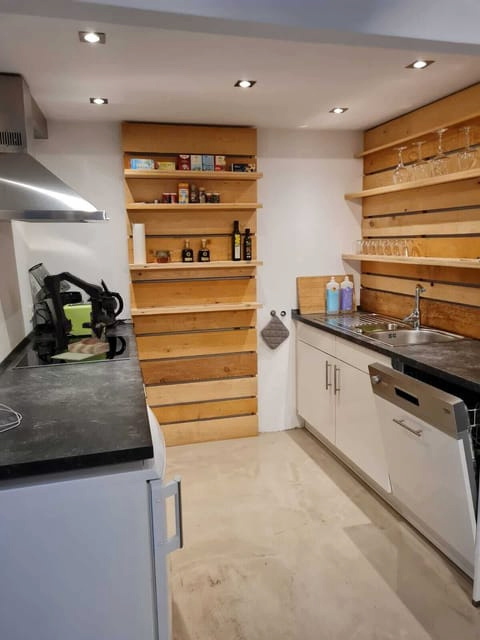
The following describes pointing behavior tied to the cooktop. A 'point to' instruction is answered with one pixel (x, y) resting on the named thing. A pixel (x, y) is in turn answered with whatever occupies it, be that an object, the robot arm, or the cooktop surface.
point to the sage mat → (73, 356)
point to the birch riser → (88, 348)
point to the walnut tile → (90, 341)
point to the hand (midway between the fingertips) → (99, 339)
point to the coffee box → (95, 335)
